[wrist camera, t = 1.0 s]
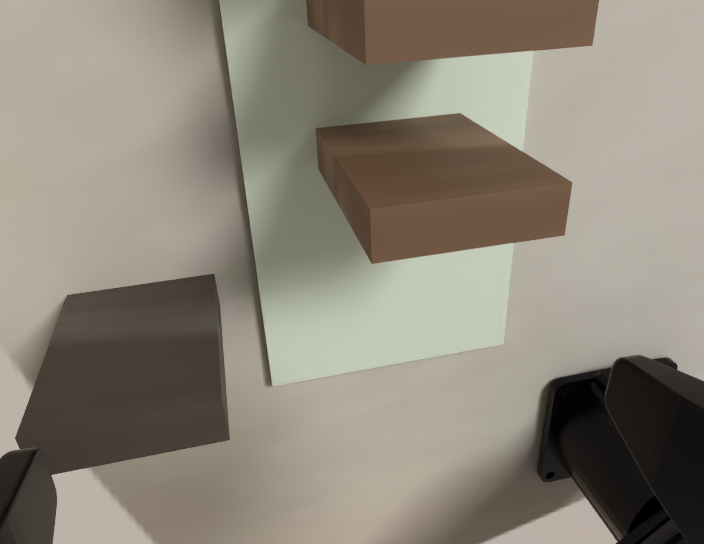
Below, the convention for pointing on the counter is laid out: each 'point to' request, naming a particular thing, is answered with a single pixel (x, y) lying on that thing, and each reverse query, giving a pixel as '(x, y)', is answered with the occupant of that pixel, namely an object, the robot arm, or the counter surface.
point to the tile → (130, 376)
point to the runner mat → (327, 217)
